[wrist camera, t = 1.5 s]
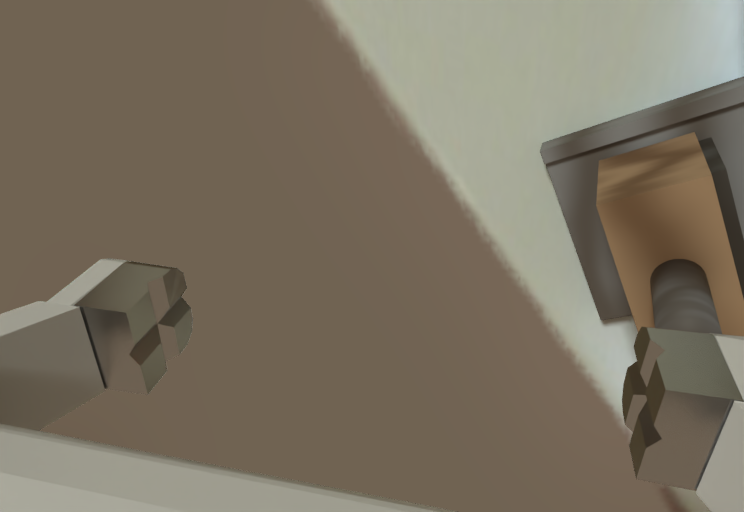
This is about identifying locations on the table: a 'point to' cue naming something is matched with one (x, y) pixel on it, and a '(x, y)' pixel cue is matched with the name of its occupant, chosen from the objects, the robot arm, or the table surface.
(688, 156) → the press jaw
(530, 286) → the table surface
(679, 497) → the table surface
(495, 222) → the table surface
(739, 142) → the frame
